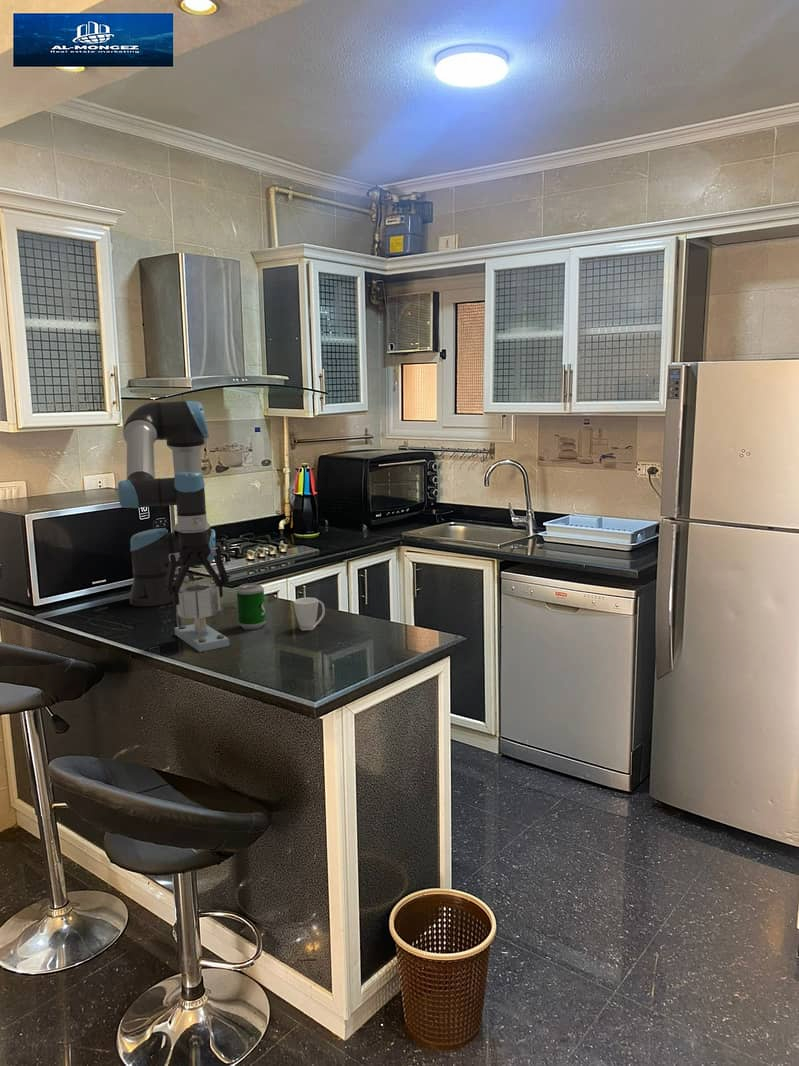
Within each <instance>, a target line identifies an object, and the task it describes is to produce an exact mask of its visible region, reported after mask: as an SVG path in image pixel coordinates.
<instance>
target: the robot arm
mask: <svg viewBox="0 0 799 1066" xmlns="http://www.w3.org/2000/svg"><path fill="white" fill-rule="evenodd" d="M122 431H123V433H122V434H123V439H124V441H125V443H126V479H125V480H120V481H118V483H117V492H118V502H119V506H120V507H121V508H124V509H129V508H130V509H133V508H134V509H138V508H150V507H166V506H169V507H170V506H176V519H177V520H176V521H177V523H176V524H175V525H174V526H173V531H172V532H168V530H167V528H165V527H162V528H153V529H149V530H143V531H139V532H137V533H135V534H133V535H132V536H131V537H130V548H129V551H130V553H131V564H132V576H133V577H132V578H133V581H132V585H131V589H130V593H129V604H130V605H132V606H135V607H156V606H163V605H166V604H167V605H168V604H171V603H173V604H174V605H176V609H177V616H178V617H180V618H183V617H184V614H183V602H182V593H181V592H179V590H180V588H182V584H183V583H184V580H185V578H186V577H187V576H186V575H187V573H188V571H189V570H190V568H191V567H201V566H203V567H204V569H205V570H206V572H207V573H208V575H209V576H210V577H211V579H212V580H213V582H214V583H215V584H214V585H215V586H217V599H218V612H219V611H221V607H222V606H221V598H223V596H224V593H223V592H224V591H223V586H224V584H226V583H229V582H230V581H229V577H228V574H227V572H226V571H227V569H226V568H225V565H224V563H223V558H222V550H221V548H220V547H217V546H216V531H215V529H212V528H211V524H210V523H209V522H208V520H207V519H208V517H207V506H206V491H205V485H206V483H205V480H204V474H203V471H202V470H203V469H202V456H201V449H202V448H203V447H204V446H205V440H206V439H208V438H209V437H210V435H209V429H208V424H207V419H206V416H205V410H204V406H203V404H202V403H201V402H199V401H197V400H196V401H192V400H177V401H161V402H160V401H158V402H157V401H152V402H146V403H145V404H143V405H140V406H139V407H137V408H136V409H134V410H133V411H132V412H131V413H130V414H129V416H128V417H127V419H126V420H125V422H124V425H123V430H122ZM156 441H166V447H168V448H169V449H170V450H171V451H172V452H171V453H172V464H173V474H174V475H173V477H164V478H156V475H155V474H156V471H155V469H156V468H155V447H154V445H155V442H156ZM213 562H215V565H216V568H217V571H218V574H219V575H218V574H217V572H216V571H215V569H214V568H213V566H212V563H213ZM176 568H179V570H178V573H177V575H176V578H175V573H176Z"/></svg>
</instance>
